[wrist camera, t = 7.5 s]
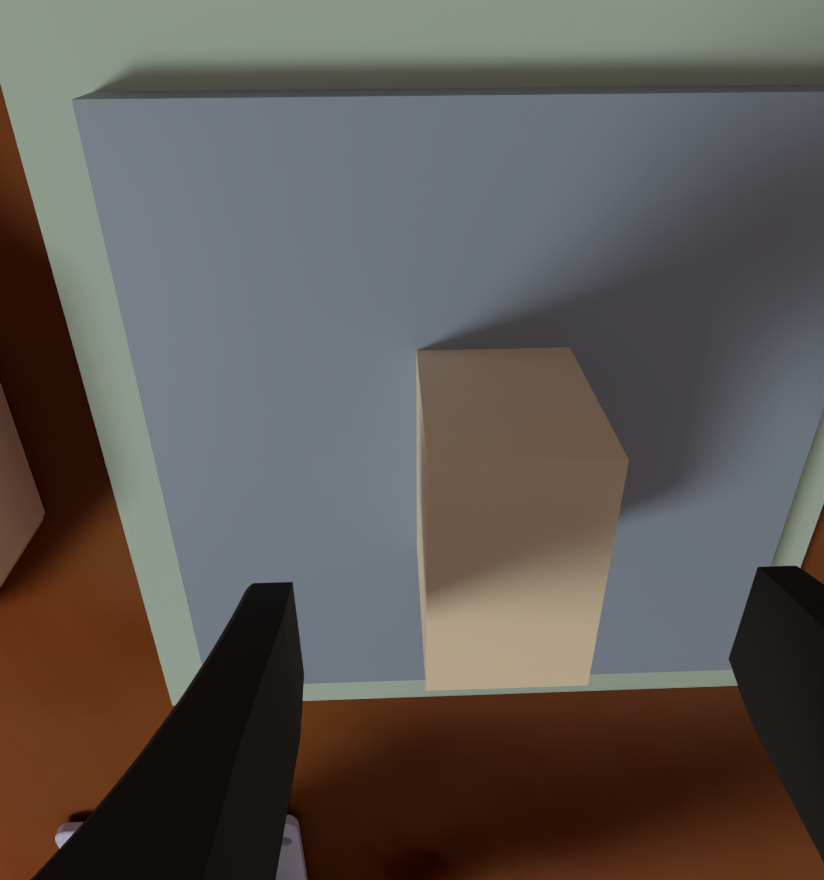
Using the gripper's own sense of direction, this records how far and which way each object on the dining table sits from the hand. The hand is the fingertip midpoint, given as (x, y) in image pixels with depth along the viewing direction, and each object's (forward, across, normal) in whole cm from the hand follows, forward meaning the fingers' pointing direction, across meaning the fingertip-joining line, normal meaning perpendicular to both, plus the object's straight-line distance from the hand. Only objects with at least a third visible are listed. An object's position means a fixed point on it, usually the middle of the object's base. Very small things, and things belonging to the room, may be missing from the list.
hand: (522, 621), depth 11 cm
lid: (+6, 0, 0) cm, 6 cm away
